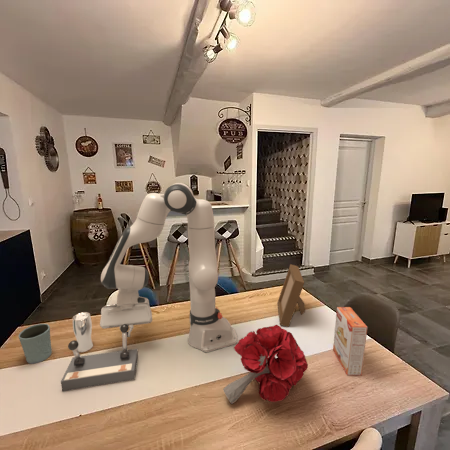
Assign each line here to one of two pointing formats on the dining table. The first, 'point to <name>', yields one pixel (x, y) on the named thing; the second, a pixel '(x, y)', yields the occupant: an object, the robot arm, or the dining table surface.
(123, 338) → the lever
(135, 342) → the dining table surface
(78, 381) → the switch unit
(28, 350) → the green plant pot
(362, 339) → the cracker box
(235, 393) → the bouquet
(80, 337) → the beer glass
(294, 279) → the photo frame
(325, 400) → the dining table surface
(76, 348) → the lever
